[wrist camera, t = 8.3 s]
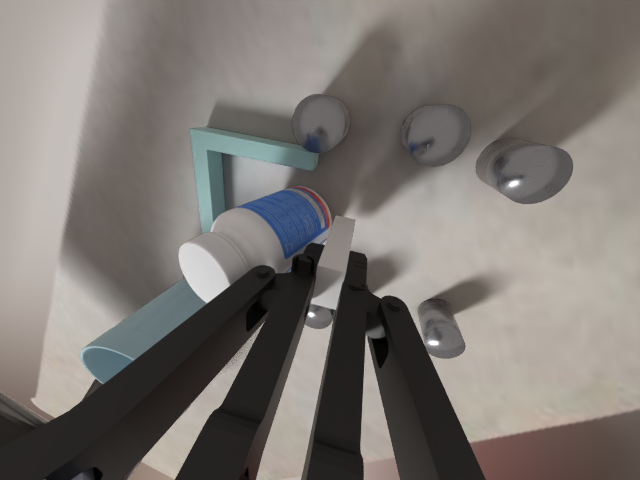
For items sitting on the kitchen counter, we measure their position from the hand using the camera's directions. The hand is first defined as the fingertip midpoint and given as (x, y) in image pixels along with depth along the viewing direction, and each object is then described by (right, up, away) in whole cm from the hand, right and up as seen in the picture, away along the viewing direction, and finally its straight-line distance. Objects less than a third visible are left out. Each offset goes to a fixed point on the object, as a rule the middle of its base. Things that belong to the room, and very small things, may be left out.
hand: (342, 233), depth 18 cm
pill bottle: (-3, +1, +2) cm, 4 cm away
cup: (-16, -7, +10) cm, 20 cm away
